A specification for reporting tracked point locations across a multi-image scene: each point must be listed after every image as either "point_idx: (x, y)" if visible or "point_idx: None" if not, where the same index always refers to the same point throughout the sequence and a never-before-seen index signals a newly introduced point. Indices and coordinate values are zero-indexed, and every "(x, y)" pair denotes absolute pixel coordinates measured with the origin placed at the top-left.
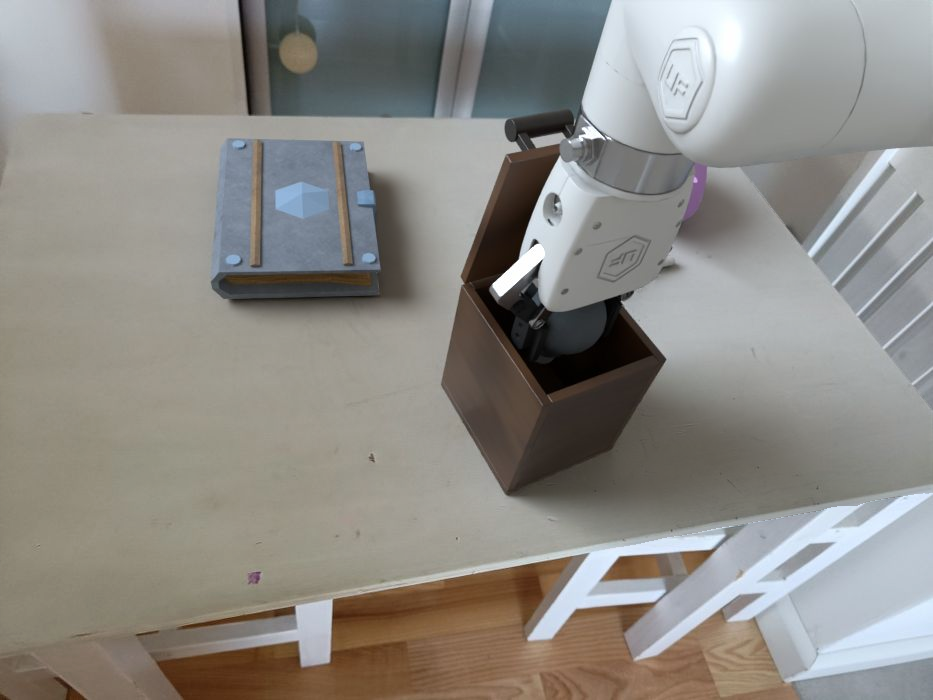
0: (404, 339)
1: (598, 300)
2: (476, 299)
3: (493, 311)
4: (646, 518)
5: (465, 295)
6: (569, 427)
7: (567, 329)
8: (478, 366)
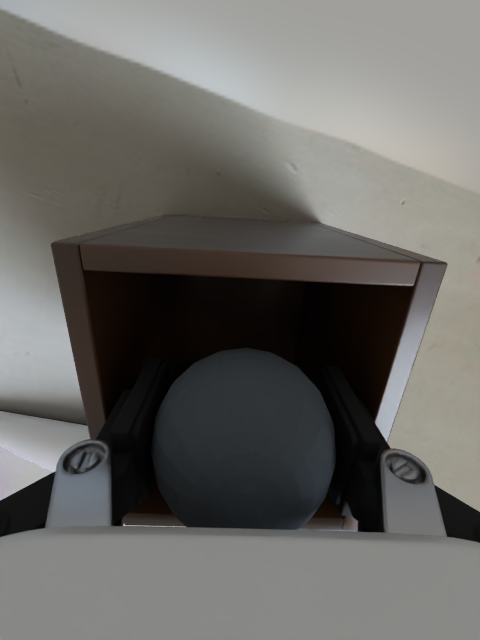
0: None
1: (309, 550)
2: None
3: None
4: (176, 98)
5: None
6: (286, 234)
7: (312, 420)
8: None
